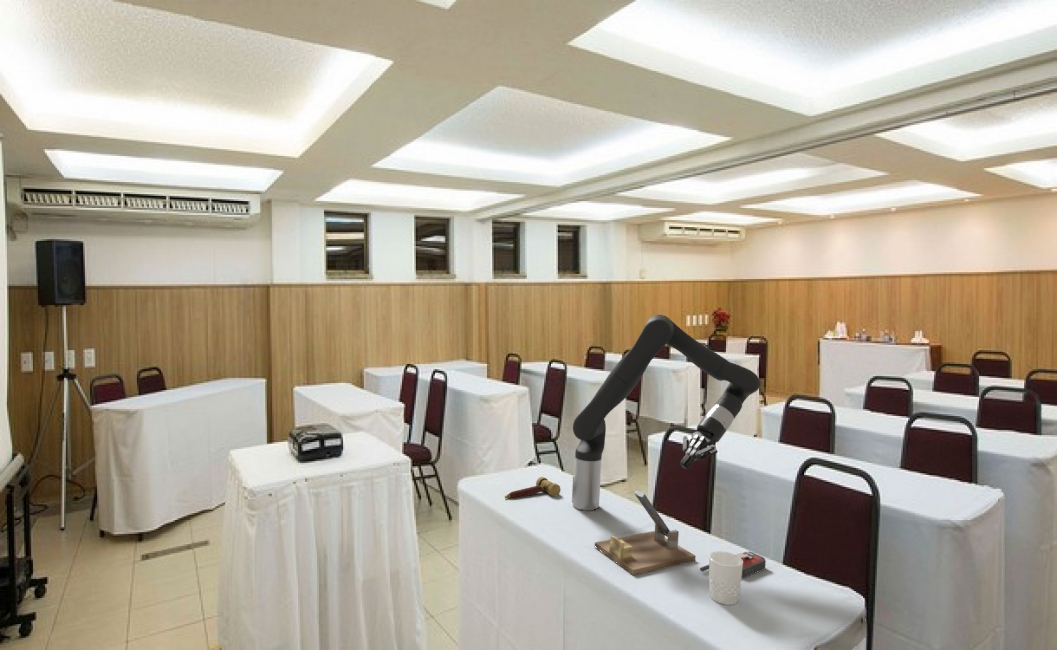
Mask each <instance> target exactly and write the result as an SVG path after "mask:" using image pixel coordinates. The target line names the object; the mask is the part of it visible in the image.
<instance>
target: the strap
mask: <svg viewBox="0 0 1057 650" xmlns="http://www.w3.org/2000/svg"><path fill="white" fill-rule="evenodd" d="M633 494H634V495H635V497H636V498H637V499H638V501H639V502H640V504H641V505H642V507H643V508H644V509H645V511H646V513H647V514H648V515H649V517H650V518H651V519H652V521H653V522H654V525H655V524H656V525H657V527H658V528H659V530H661V531H660V532H661V533H662V534H663V535H665V537H666V538H668V531H671V530H670V529H669V527H668V525H667V524H666V522H665V521H664V520H663V519H662V517H661V515H660V514H659V512H657V510H656V508H655V507H654V506H653V504H652V503H651V501H650V500H649V499H648V497H647V496H646V494H645V493H643V492H641V491H639V490H637V489H636V490H635V492H633Z"/></svg>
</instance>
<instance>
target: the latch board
mask: <svg viewBox="0 0 1057 650" xmlns="http://www.w3.org/2000/svg"><path fill="white" fill-rule="evenodd" d="M660 531H661V530H659V528H658V527H657V525H656V524H655V523H654V530H653V531H648V532H642V533H637V534H631V535H627V536H622V537H621V536H620V537H616V536H614V535H611V536H610V539H607V540H606V539H605V540H600V541H597V542H596V541H595V542H594V547H595V546H596V547H597V548H598V549H599V550H601V551H602V552H603V553H604V554H606V555H607V556H609V557H610V558H611V559H613V560H614V561H615V562H617V563H618V564H619V565H618V564H617V563H616V564H617V565H618V566H620V567H621V566H622V567H623V568H622V567H621V568H622V569H623V570H625V569H626V570H627V572H628V573H629V572H630V573H631V574H630V573H629V574H630V575H632V574H633V575H632V576H636V575H635V574H637V575H641V574H645V573H649V572H648V571H650V572H653V570H654V571H657V570H661V569H665V568H670V567H674V566H675V567H676V566H679V565H683V564H687V563H692V562H696V554H694V553H692V552H691V551H688V550H687V549H685V548H683V547H681V546H680V545H679V535H680V534H679V533H680V532H679V530H677V529H674V530H670V531H668V537H666V536H665V535H663V534H662V533H661V532H660ZM598 549H597V550H598ZM599 550H598V551H599ZM602 552H601V553H602ZM603 553H602V554H603ZM604 554H603V555H604ZM606 555H605V556H606ZM607 556H606V557H607ZM609 557H608V558H609ZM610 558H609V559H610ZM611 559H610V560H611ZM613 560H612V561H613ZM614 561H613V562H614ZM615 562H614V563H615ZM626 570H625V571H626ZM640 573H641V574H640Z"/></svg>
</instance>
